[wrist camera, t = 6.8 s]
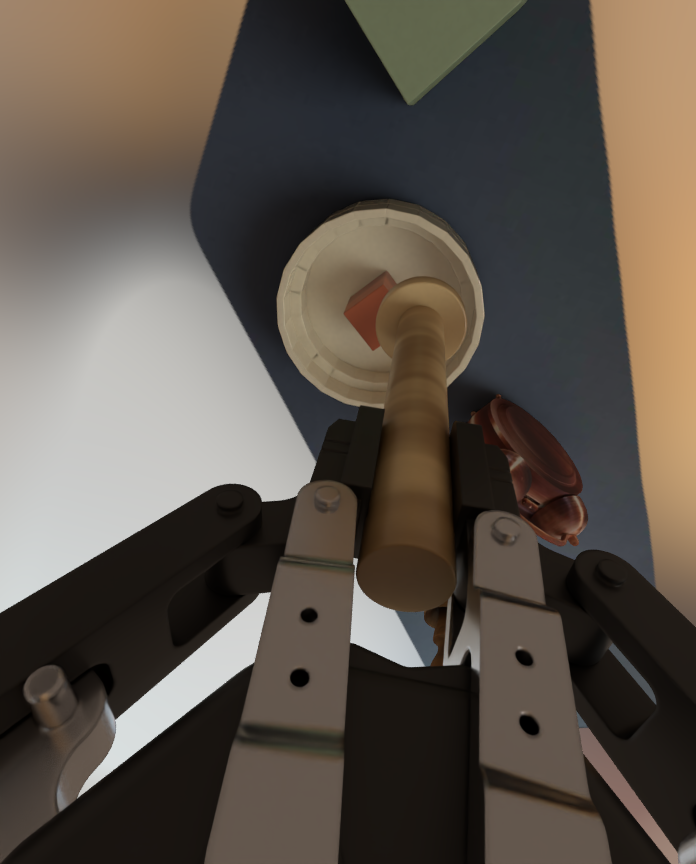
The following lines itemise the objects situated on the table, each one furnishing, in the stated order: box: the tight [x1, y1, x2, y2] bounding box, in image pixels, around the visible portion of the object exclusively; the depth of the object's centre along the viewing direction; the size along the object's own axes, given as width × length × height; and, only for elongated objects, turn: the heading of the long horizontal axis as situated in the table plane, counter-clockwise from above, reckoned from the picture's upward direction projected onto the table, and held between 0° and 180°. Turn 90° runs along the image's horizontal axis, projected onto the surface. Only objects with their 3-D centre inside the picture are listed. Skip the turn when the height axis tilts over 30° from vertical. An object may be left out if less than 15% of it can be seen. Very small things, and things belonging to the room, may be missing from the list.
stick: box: [356, 276, 467, 612], centre depth 16 cm, size 4×4×15 cm
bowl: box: [277, 199, 484, 409], centre depth 40 cm, size 16×16×5 cm
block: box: [343, 271, 397, 351], centre depth 40 cm, size 4×4×4 cm
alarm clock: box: [467, 394, 588, 546], centre depth 41 cm, size 11×5×15 cm, turn 55°
